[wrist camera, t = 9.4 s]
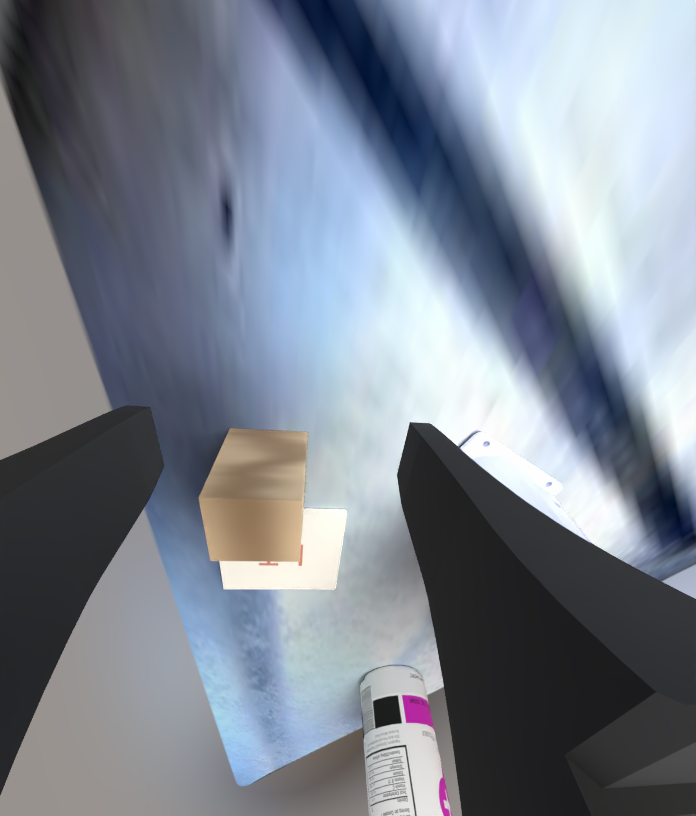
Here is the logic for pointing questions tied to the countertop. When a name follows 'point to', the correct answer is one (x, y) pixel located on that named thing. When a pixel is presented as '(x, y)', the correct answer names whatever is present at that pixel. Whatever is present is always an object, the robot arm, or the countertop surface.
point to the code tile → (315, 558)
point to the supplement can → (401, 746)
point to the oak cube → (256, 496)
